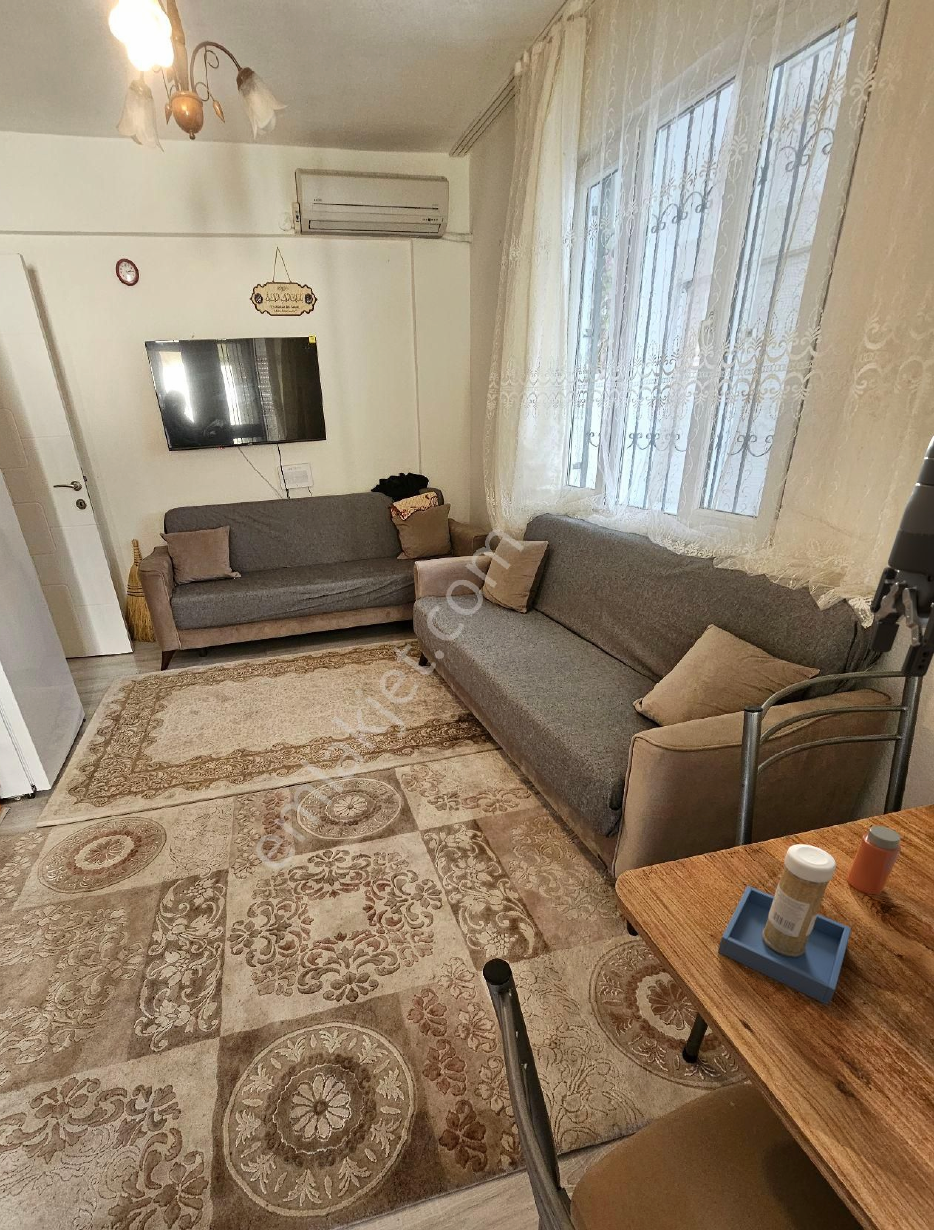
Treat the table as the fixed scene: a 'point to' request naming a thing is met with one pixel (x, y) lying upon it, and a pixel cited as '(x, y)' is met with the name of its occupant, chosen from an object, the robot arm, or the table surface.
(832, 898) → the table surface
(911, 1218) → the table surface
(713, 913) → the table surface
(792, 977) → the blue tray
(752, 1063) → the table surface
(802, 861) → the sprinkles bottle
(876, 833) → the terracotta shaker
